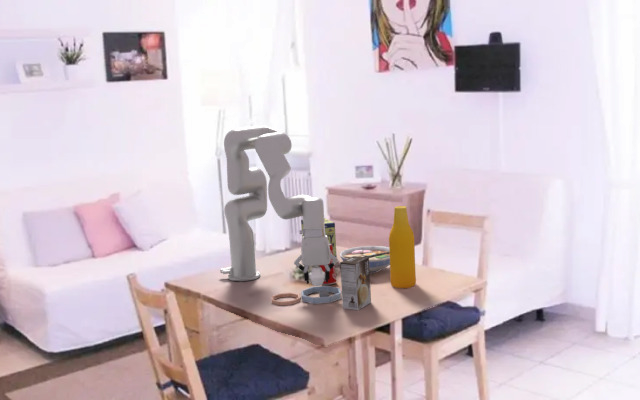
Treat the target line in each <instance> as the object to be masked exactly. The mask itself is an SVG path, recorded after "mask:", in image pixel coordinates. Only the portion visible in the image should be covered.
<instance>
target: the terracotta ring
mask: <svg viewBox="0 0 640 400" xmlns="http://www.w3.org/2000/svg"><path fill="white" fill-rule="evenodd" d="M286 297H287V298H289V297H291V298H294V299H291V300H277V299H280V298H286ZM270 298H271V299H270V300H271V301H270V302H271V304H273V305H277V306H289V305H290V306H292V305H294V304H297V303H299V302H301V293H294V292H283V293H277V294H275V295H271V297H270Z"/></svg>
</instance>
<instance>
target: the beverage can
mask: <svg viewBox="0 0 640 400" xmlns="http://www.w3.org/2000/svg"><path fill="white" fill-rule="evenodd" d="M329 247H330V253H331V254H333V247H332V244H331V243H329ZM333 255H334V254H333ZM332 261H333V259H331V261H330V263H331V262H332ZM330 263H329V264H330ZM329 264H328V265H329ZM335 265H336V264H335ZM335 265H334V266H333V267H332V268H331V270H330V271H329V274H330V279H328V282H326V278H325V279H324V282H323V284H322V285H323V286H330V285H334V284H336V283H337V273H336V266H335ZM318 266H319V267H321V268H322V271H323V272H324V273H325V270H326V268H325V266H324V265H318Z"/></svg>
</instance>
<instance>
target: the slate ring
mask: <svg viewBox="0 0 640 400" xmlns="http://www.w3.org/2000/svg"><path fill="white" fill-rule="evenodd" d="M322 290H327V291H328V292H329V293H332V294H331V295H329V297H319V296H318V297H313V296H309V295H310V294H313V293H320V292H321V291H322ZM300 297H301V301H302V302H305V303H309V304H313V305H314V304H330V303H333V302H335V301H338V300H340V299H341V300H342V290H341V288H340V287H336V286H335V287H334V286H333V285H332V286H330V285H321V286H311V287H310V286H309V287H307V288H305V289H302V290H300Z"/></svg>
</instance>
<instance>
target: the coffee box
mask: <svg viewBox="0 0 640 400" xmlns="http://www.w3.org/2000/svg"><path fill="white" fill-rule="evenodd" d="M339 267H340V284H341V300H342V301H341V303H342V309H346V310H354V311H360V310H361V309H363V308H364V307H366V306H369V304H371V303H372V294H371V293H372V292H371V291H372V289H371V275H370V274H371V273H370V271H369V257H357V256H353V257H350V258H348V259H346V260H344V261H343V260H342V261H341V262H339Z"/></svg>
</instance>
